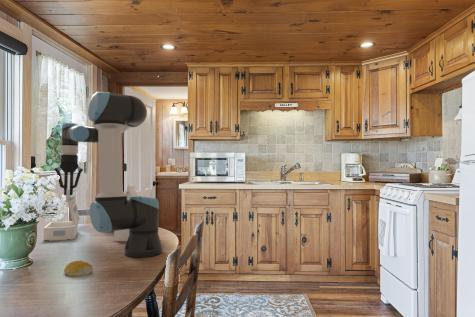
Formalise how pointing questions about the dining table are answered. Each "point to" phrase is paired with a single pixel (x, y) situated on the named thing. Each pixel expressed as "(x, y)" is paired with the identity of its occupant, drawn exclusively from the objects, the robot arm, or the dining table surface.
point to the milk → (123, 234)
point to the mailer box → (60, 231)
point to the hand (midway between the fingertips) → (68, 201)
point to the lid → (73, 210)
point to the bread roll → (78, 268)
